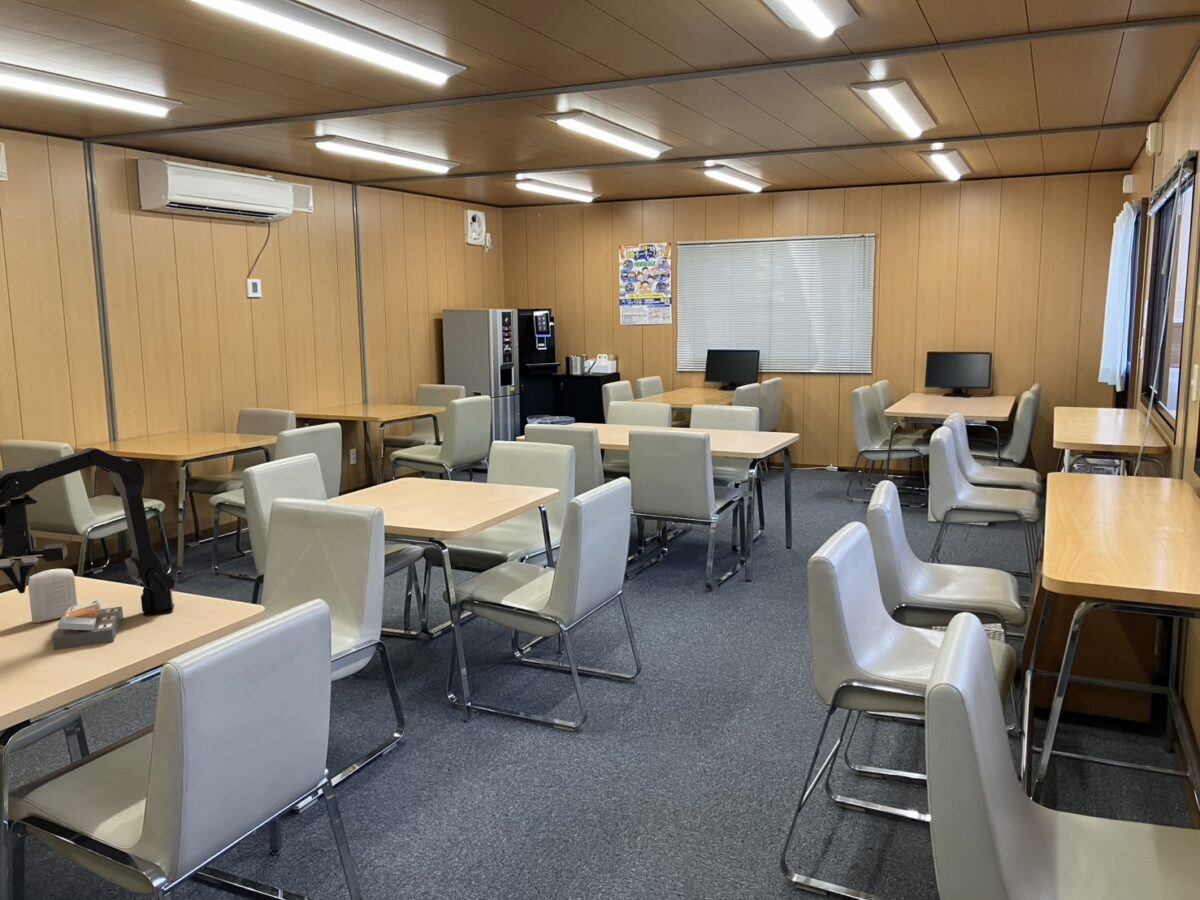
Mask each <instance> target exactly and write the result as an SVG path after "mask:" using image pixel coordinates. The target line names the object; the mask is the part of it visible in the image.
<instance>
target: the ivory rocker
mask: <svg viewBox="0 0 1200 900" xmlns="http://www.w3.org/2000/svg"><path fill="white" fill-rule="evenodd" d="M102 606H103V601H102V598H100V597H99V598H96V599H93V600H90V601H86V602H83V603H80V604H78V605H76V606H73V607H70V608H69V609H68V611H67V612H66V613H70V612H74V611H79V610H84V609H89V608H93V607H98V609H101V607H102Z"/></svg>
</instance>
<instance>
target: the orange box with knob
mask: <svg viewBox="0 0 1200 900" xmlns="http://www.w3.org/2000/svg"><path fill="white" fill-rule="evenodd" d="M98 613H99V609H98V607H93V608H89V609H84V610H79V611H74V612H70V613H65V614H64V616H63V617H79V618H96V617H97V615H98Z"/></svg>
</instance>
